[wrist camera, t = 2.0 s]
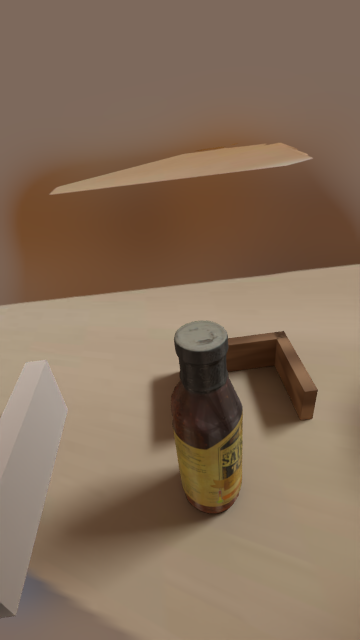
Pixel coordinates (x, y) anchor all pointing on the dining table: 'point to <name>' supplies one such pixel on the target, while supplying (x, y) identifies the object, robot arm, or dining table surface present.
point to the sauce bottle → (207, 418)
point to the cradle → (282, 356)
